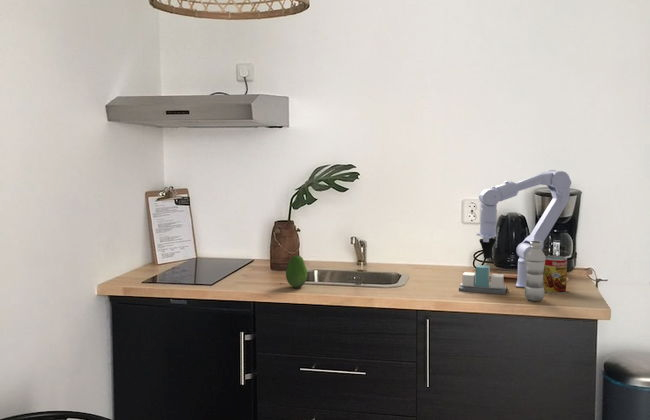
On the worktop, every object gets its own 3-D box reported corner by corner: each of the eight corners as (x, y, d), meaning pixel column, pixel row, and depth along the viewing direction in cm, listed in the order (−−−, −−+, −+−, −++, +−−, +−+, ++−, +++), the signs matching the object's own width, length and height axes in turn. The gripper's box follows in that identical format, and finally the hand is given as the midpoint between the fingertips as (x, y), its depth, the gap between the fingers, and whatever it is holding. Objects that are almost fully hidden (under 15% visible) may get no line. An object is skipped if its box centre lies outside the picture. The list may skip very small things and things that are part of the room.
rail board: (506, 288, 229) (507, 273, 228) (504, 294, 220) (505, 278, 220) (462, 285, 234) (462, 270, 234) (458, 290, 226) (458, 275, 225)
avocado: (310, 285, 236) (309, 254, 235) (302, 290, 229) (302, 258, 228) (290, 284, 239) (290, 253, 238) (282, 288, 232) (281, 256, 230)
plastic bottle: (539, 297, 215) (541, 240, 213) (547, 302, 209) (549, 243, 206) (521, 298, 215) (522, 240, 213) (528, 303, 208) (530, 243, 206)
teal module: (489, 284, 228) (489, 265, 227) (488, 287, 225) (488, 267, 224) (476, 283, 230) (477, 265, 229) (475, 286, 226) (475, 267, 225)
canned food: (557, 294, 219) (558, 260, 218) (538, 290, 225) (539, 257, 224) (570, 291, 224) (571, 258, 222) (551, 287, 230) (552, 254, 229)
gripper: (479, 219, 238) (478, 254, 239) (474, 224, 224) (473, 261, 226) (498, 219, 235) (497, 255, 237) (495, 224, 222) (493, 262, 223)
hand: (487, 258), depth 231 cm, fingers closed
